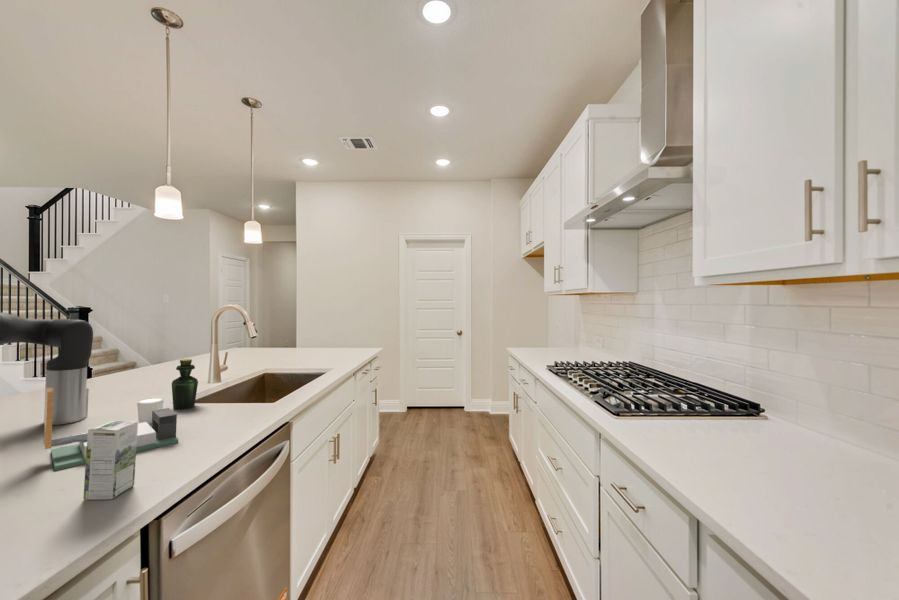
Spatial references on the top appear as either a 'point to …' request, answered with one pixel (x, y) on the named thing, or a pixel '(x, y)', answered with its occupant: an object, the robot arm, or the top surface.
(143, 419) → the white cup
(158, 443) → the heatsink board
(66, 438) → the wooden l-shaped piece
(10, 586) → the top surface
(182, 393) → the potion bottle
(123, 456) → the syrup box
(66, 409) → the robot arm
